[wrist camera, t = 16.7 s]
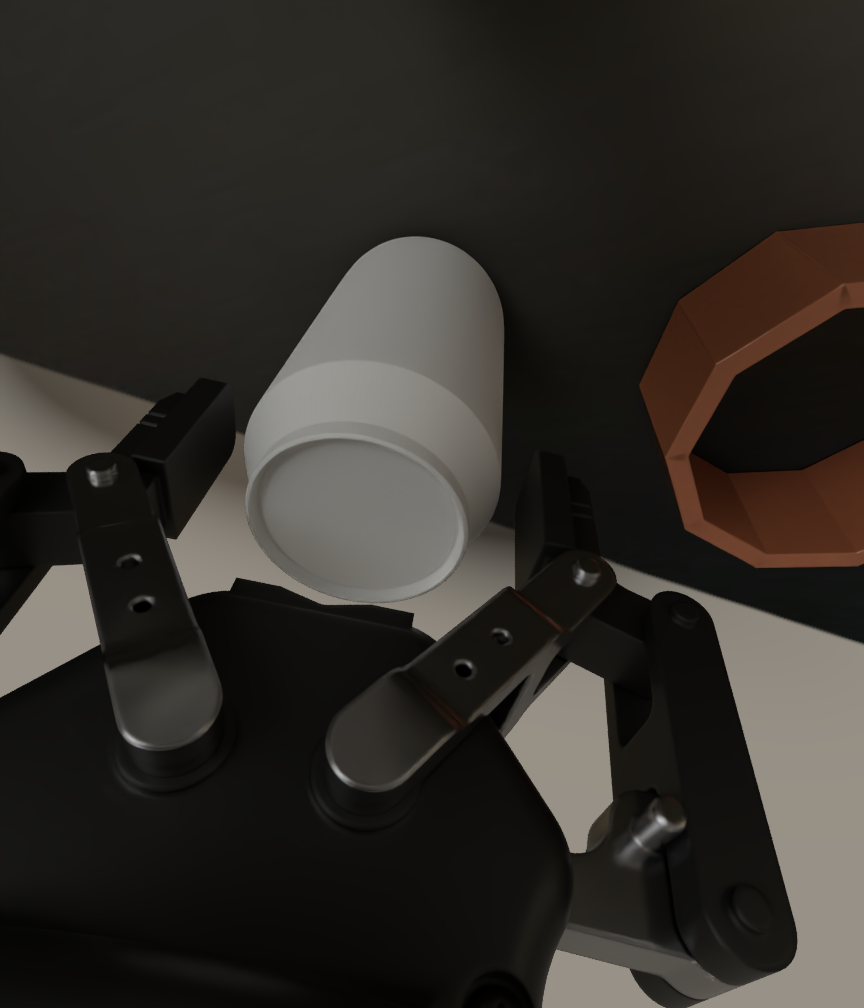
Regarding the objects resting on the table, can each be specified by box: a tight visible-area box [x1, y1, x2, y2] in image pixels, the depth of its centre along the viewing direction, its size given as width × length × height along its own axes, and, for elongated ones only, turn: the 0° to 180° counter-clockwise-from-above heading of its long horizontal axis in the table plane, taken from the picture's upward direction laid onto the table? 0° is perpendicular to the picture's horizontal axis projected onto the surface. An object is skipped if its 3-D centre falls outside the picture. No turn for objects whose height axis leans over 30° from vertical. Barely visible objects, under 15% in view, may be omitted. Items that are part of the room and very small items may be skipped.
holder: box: [639, 223, 864, 568], centre depth 20 cm, size 10×11×5 cm
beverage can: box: [244, 237, 504, 603], centre depth 17 cm, size 6×6×12 cm
